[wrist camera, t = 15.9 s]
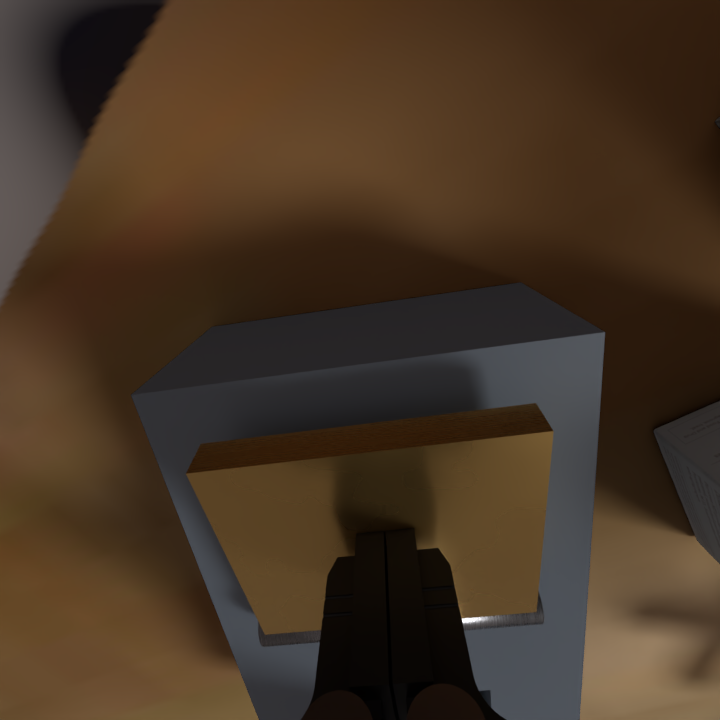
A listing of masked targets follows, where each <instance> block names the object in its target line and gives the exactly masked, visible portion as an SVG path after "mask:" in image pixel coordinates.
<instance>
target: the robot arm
mask: <svg viewBox="0 0 720 720" xmlns="http://www.w3.org/2000/svg"><path fill="white" fill-rule="evenodd" d="M386 539H387V545H386ZM386 539H385V534H384V531H377V532H367V533H356V541H355V556H345V557H337V559H336V561H335V563H334V564H333V566H332V568H331V570H330V572H329V574H328V575H327V583H326V592H325V601H324V609H323V618H322V627H321V635H320V644H319V653H318V662H317V670H316V679H315V687H314V693H313V696H312V700H311V702H310V705H309V707H308V709H307V710H306V712H305V714H304V716H303V717H302V718H301V720H506V719H505V718H503V717H502V716H500V715H499V714H498V713H496V712H495V711H494V710H493V709H492V708H491V707H490V706H489V705H488V704H487V702H486V701H485V700H484V698H483V697H482V695H481V693H480V692H479V690H478V687H477V685H476V683H475V679H474V676H473V671H472V666H471V661H470V657H469V652H468V647H467V642H466V638H465V633H464V628H463V623H462V618H461V614H460V609H459V605H458V599H457V595H456V590H455V585H454V580H453V575H452V571H451V566H450V564H449V562H448V561H447V559H446V558H445V557H444V555H443V554H442V553H441V551H440V550H439V548H430V549H419V550H417V545H416V538H415V530H414V528H407V529H397V530H386Z"/></svg>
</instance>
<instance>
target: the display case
mask: <svg viewBox="0 0 720 720" xmlns="http://www.w3.org/2000/svg"><path fill="white" fill-rule="evenodd" d="M715 123H716V124H717V126H718V127H719V128H720V117H719V118H718V119H717V120H716V121H715Z"/></svg>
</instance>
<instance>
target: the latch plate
mask: <svg viewBox="0 0 720 720" xmlns="http://www.w3.org/2000/svg"><path fill="white" fill-rule="evenodd" d="M553 433H554V431H553V429H552V428H551V426H550V424H549V423H548V421H547V420H546V418H545V416H544V415H543V413H542V412H541V410H540V408H539V407H538V405H537V404H536V403H532V404H524V405H516V406H508V407H499V408H491V409H483V410H475V411H466V412H458V413H450V414H442V415H433V416H425V417H417V418H409V419H400V420H392V421H384V422H376V423H367V424H359V425H351V426H343V427H334V428H326V429H318V430H310V431H302V432H293V433H285V434H277V435H269V436H260V437H252V438H244V439H236V440H227V441H219V442H211V443H203V444H200V446H199V448H198V450H197V452H196V454H195V456H194V458H193V460H192V462H191V464H190V466H189V468H188V470H187V472H186V475H187V477H188V479H189V481H190V483H191V485H192V487H193V489H194V492H195V494H196V496H197V498H198V500H199V502H200V504H201V506H202V508H203V510H204V512H205V514H206V516H207V518H208V520H209V522H210V524H211V526H212V528H213V530H214V532H215V534H216V536H217V538H218V540H219V542H220V544H221V546H222V548H223V551H224V553H225V555H226V557H227V559H228V561H229V563H230V565H231V567H232V569H233V571H234V573H235V575H236V577H237V579H238V581H239V583H240V585H241V587H242V589H243V591H244V593H245V595H246V597H247V599H248V601H249V603H250V605H251V608H252V610H253V612H254V614H255V616H256V618H257V620H258V636H259V641H260V644H261V646H262V647H270V646H282V645H295V644H307V643H320V635H321V627H322V618H323V609H324V601H325V592H326V583H327V575H328V574H329V572H330V570H331V568H332V566H333V564H334V563H335V561H336V559H337V557H345V556H355V541H356V533H367V532H377V531H384V534H385V539H386V530H397V529H407V528H414V530H415V538H416V545H417V550H419V549H430V548H439V550H440V551H441V553H442V554H443V555H444V557H445V558H446V559H447V561H448V562H449V564H450V566H451V571H452V575H453V580H454V585H455V590H456V595H457V599H458V605H459V609H460V614H461V618H462V623H463V628H464V631H468V630H480V629H492V628H505V627H517V626H529V625H542V624H544V611H543V606H542V601H541V597H540V594H539V580H540V570H541V559H542V549H543V538H544V528H545V517H546V507H547V496H548V486H549V475H550V465H551V454H552V444H553ZM386 545H387V539H386Z"/></svg>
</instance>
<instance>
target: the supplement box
mask: <svg viewBox="0 0 720 720" xmlns="http://www.w3.org/2000/svg"><path fill="white" fill-rule="evenodd" d="M654 434H655V437H656V440H657V442H658V445H659V447H660V450H661V453H662V455H663V458H664V460H665V462H666V465H667V467H668V470H669V473H670V476H671V478H672V480H673V482H674V485H675V488H676V490H677V493H678V495H679V498H680V500H681V503H682V505H683V508H684V510H685V513H686V515H687V517H688V519H689V522H690V525H691V527H692V530H693V532H694V534H695V537H696V539H697V541H698V542H699V543H700V544H701V545H702V546H703V547H704V548H705V549H706V551H707V552H708V553H709V554H710V555H711V556H712V557H713V558H714V559H715V560H716V561H717V562H718V563H719V564H720V401H718V402H716V403H713V404H711V405H709V406H706V407H704V408H702V409H699V410H697V411H695V412H693V413H690V414H688V415H686V416H683V417H681V418H679V419H677V420H675V421H672V422H670V423H668V424H665V425H663V426H661V427H658V428H656V429H655V430H654Z"/></svg>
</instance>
